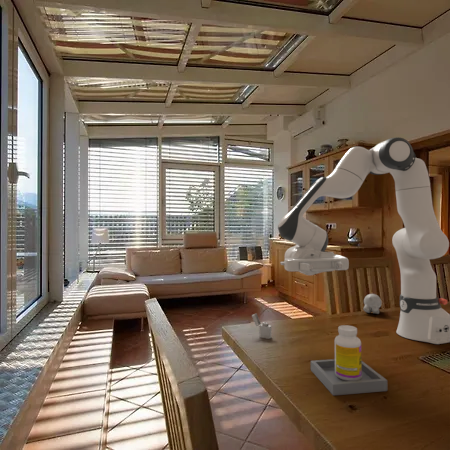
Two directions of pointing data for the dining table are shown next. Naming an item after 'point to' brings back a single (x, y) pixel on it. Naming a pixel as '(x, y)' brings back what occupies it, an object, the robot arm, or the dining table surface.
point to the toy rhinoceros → (372, 303)
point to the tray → (341, 387)
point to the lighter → (262, 327)
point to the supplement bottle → (348, 354)
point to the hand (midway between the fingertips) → (325, 267)
